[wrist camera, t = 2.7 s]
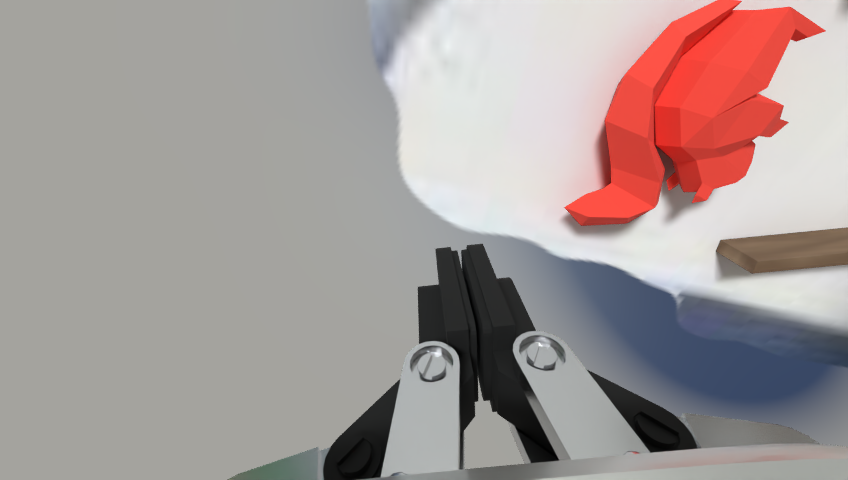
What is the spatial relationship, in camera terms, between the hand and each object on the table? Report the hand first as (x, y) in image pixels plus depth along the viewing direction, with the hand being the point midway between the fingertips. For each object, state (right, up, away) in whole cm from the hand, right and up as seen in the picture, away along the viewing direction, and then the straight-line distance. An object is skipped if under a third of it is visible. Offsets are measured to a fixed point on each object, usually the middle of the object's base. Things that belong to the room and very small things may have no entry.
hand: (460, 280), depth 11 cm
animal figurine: (+16, +9, +13) cm, 22 cm away
